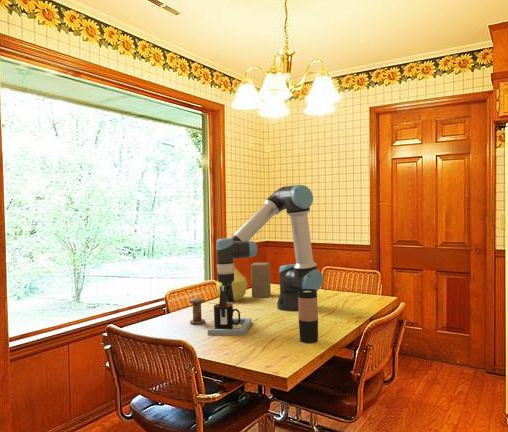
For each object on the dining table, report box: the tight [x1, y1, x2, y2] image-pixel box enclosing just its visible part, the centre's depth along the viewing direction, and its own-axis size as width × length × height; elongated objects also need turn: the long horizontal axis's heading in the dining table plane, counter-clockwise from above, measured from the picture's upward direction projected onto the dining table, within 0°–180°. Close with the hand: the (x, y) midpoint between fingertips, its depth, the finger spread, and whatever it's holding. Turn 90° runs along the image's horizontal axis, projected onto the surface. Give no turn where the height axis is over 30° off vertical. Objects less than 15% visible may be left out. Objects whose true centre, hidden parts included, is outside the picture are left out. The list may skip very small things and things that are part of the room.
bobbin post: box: [189, 297, 206, 326], centre depth 199 cm, size 7×7×11 cm
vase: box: [216, 265, 248, 302], centre depth 247 cm, size 18×18×30 cm
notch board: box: [207, 317, 253, 336], centre depth 188 cm, size 16×20×2 cm
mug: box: [213, 303, 241, 329], centre depth 188 cm, size 8×12×10 cm
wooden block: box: [250, 262, 272, 299], centre depth 256 cm, size 10×10×20 cm
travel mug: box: [297, 289, 319, 344], centre depth 167 cm, size 8×8×20 cm
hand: (227, 320), depth 188 cm, fingers open, 13 cm apart
